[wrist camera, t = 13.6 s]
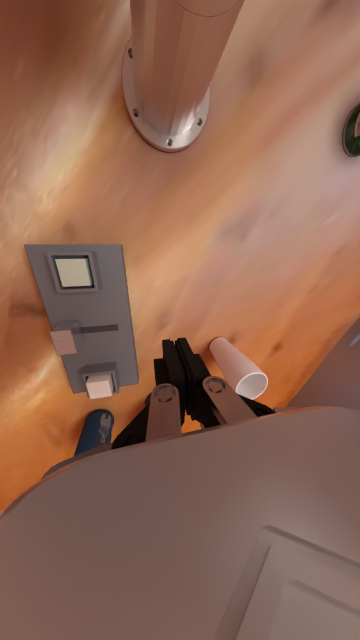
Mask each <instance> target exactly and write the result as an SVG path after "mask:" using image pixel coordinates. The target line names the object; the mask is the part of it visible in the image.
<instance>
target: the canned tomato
mask: <svg viewBox="0 0 360 640" xmlns="http://www.w3.org/2000/svg"><path fill="white" fill-rule="evenodd" d="M343 147H344V150H345V152H346V153H347V154H348V155H349V156H351V157H357V156H360V103H359V104H358V105H357V106H356V107H355V108H354V109H353V110H352V112H351V113H350V115H349V117H348V119H347V121H346V123H345V127H344V131H343Z"/></svg>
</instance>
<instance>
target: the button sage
mask: <svg viewBox="0 0 360 640" xmlns="http://www.w3.org/2000/svg"><path fill="white" fill-rule="evenodd" d="M55 261H56V264H57V268H58V272H59V275H60V279H61V283H62V286H63V287H69V286H91V285H92V284H94V281H93V276H92V271H91V266H90V261H89V258H62V259H55Z"/></svg>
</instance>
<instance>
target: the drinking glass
mask: <svg viewBox="0 0 360 640" xmlns="http://www.w3.org/2000/svg"><path fill="white" fill-rule="evenodd" d="M209 349H210V352H211V353H212V355H213V357H214V359H215V360H216V362H217V364H218V366H219V368H220V370H221V372H222V374H223V376H224V378H225V380H226V382H227V383H228V384H229V385H230V386H231V387H232V388H233V390H234V391H235V392H236V393H237V394H240V395H242V396H244V397H247V398H249V399H251V400H252V399H255V398H256V397H258V396H260V395H261V394H262V393H263V392H264V391H265V389H266V387H267V385H268V378H267V376H266V375H265V374H264V373H263V371H262V370H261V369H260V368H259V367H258V366H257V365H256V364H255V363H254V362H253V361H252V360H250V359H249V358H248V357H247V356H246V355H244V354H243V353H242V352H241V351H239V350H238V349H237V348H236V347H235V346H233V345H232V344H231V343H230V342H229V341H228V340H227V339H226V338H223V337H218V338H215V339H214V340H213V341H212V342H211V343H210V346H209Z"/></svg>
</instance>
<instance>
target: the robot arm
mask: <svg viewBox="0 0 360 640" xmlns="http://www.w3.org/2000/svg"><path fill="white" fill-rule="evenodd" d="M243 2H244V0H130V9H131V32H132V36H131V38H130V40H129V42H128V44H127V46H126V49H125V53H124V56H123V63H122V87H123V95H124V99H125V103H126V107H127V110H128V113H129V115H130V118H131V120H132V122H133V124H134V126H135V127H136V129H137V130H138V132H139V133H140V134H141V136H142V137H143V138H144V139H145V140H146V141H147V142H148V143H149V144H151V145H152V146H154V147H155V148H157V149H160V150H162V151H166V152H178V151H181V150H184V149H186V148H187V147H189V146H190V145H191V144H192V143H193V142H194V141H195V140H196V139H197V138H198V136H199V134H200V133H201V131H202V129H203V127H204V125H205V122H206V119H207V116H208V111H209V105H210V82H211V80H212V77H213V75H214V73H215V70H216V68H217V65H218V63H219V60H220V58H221V56H222V53H223V51H224V48H225V46H226V43H227V41H228V39H229V36H230V34H231V31H232V29H233V26H234V24H235V22H236V19H237V17H238V14H239V12H240V10H241V7H242V5H243ZM131 58H132V59H131ZM135 115H137V116H138V117H135ZM198 124H199V125H198ZM167 144H170V146H168V145H167ZM162 346H163V358H160V359H154V371H155V381H156V387H155V388H154V389H153V391H152V393H151V400H150V403H149V404H148V405H147V406H146V407H145V408H144V409H143V410H142V411H141V412H140V413H139V414H138V415H137V416H136V417H135V418H134V419H133V420H132V421H131V423H130V424H129V425H128V426H127V427H126V428H125V429H124V430H123V431H122V432H121V433H120V434H119V435H118V436H117V437H116V439H115V440H114V442H112V443H110V444H108V445H106V443H104V444H102V445H99V446H97V447H95V448H92V449H90V450H88V451H85V452H83V453H81V454H79V455H76V456H74V457H72V458H69V459H67V460H65V461H62V462H60V463H58V464H56V465H55V466H53V467H52V468H50V469H49V470H48V471H47V472H46V473H45V474H44V476H43V477H42V478H41V480H40V481H38V482H37V483H35V484H34V485H33V486H31V487H30V488H29V489H27V490H26V491H25V492H23V493H22V494H21V495H20V496H19V497H18V498H17V499H15V500H14V501H13V502H12V503H11V504H10V505H9V507H8V508H7V509H6V510H5V511H4V512H3V514H2V515H1V516H0V640H360V411H357V410H353V409H349V408H342V407H336V406H335V407H334V406H317V407H308V408H280V407H273V410H272V409H271V408H269V407H267V406H266V405H263V404H261V403H259V402H256V401H254V400H251V399H249V398H247V397H244V396H242V395H240V394H237V393H236V392H235V391H234V390H233V388H232V387H231V386H230V385H229V384H228V383H227V382H226V381H225V380H224V379H222V378H221V377H217V376H211V375H210V373H209V371H208V369H207V368H206V366H205V364H204V362H203V360H202V359H201V357H200V355H199V354H193V352H192V350H191V348H190V346H189V344H188V342H187V340H186V338H178V339H177V340H176V341H175V345H174V342H173V341H170V339H167V340H162ZM185 409H186V413H187V415H190V416H191V419H192V421H193V420H197V421H198V422H200V426H201V429H200V430H196V431H191V432H187V433H182V434H181V427H182V425H183V423H184V416H185Z"/></svg>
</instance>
